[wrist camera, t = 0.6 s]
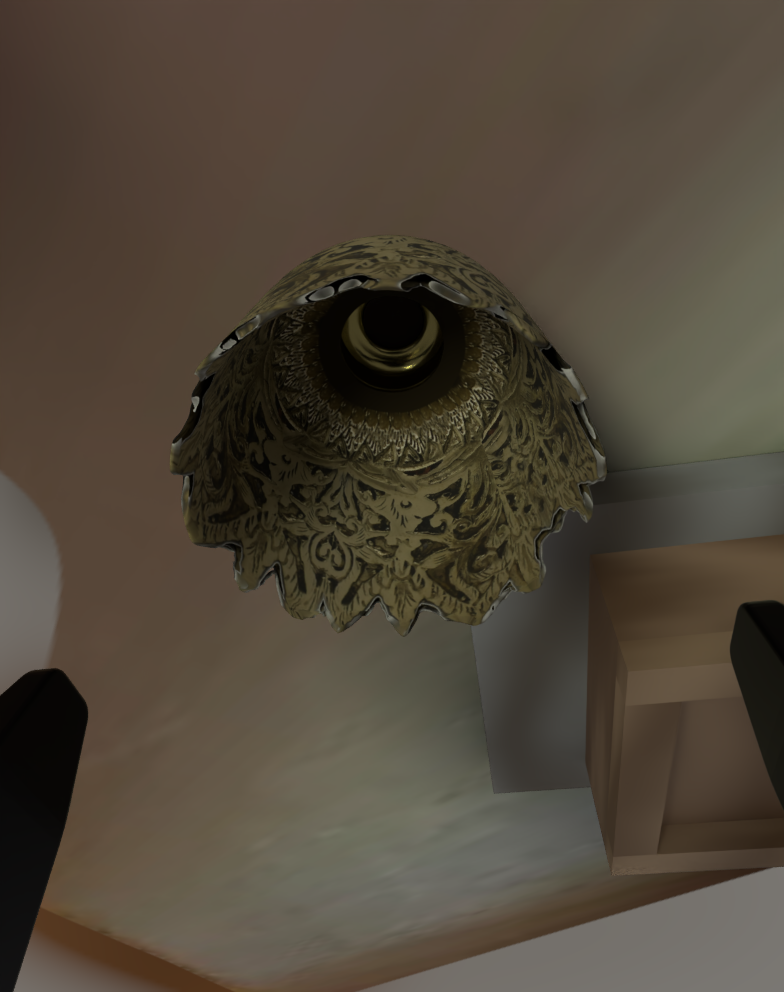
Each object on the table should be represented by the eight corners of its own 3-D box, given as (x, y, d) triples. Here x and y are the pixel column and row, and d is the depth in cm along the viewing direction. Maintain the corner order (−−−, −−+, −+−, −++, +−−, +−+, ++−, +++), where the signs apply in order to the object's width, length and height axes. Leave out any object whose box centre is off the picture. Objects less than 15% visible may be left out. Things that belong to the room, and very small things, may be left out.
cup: (444, 471, 21) (461, 682, 14) (219, 374, 19) (124, 568, 13) (589, 257, 17) (702, 418, 10) (320, 106, 15) (256, 190, 8)
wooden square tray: (1146, 408, 19) (1394, 547, 14) (954, 728, 29) (1064, 876, 24) (453, 491, 21) (467, 635, 16) (490, 762, 31) (505, 903, 26)
